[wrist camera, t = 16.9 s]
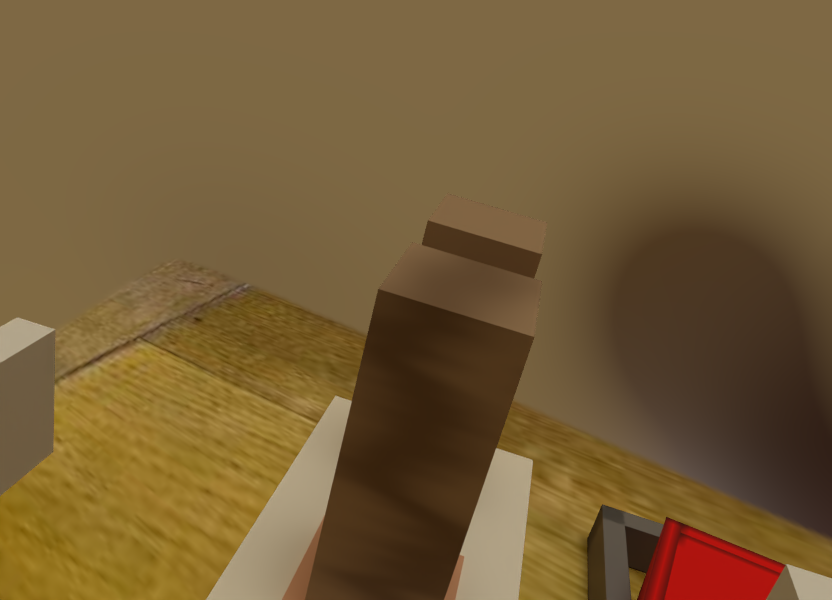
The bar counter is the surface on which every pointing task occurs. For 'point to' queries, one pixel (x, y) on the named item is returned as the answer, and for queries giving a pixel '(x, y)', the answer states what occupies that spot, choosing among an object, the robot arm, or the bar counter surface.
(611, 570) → the charcoal tray rim
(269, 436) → the bar counter surface
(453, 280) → the walnut pillar
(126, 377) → the bar counter surface
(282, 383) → the bar counter surface
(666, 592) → the french fries container
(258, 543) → the base board
